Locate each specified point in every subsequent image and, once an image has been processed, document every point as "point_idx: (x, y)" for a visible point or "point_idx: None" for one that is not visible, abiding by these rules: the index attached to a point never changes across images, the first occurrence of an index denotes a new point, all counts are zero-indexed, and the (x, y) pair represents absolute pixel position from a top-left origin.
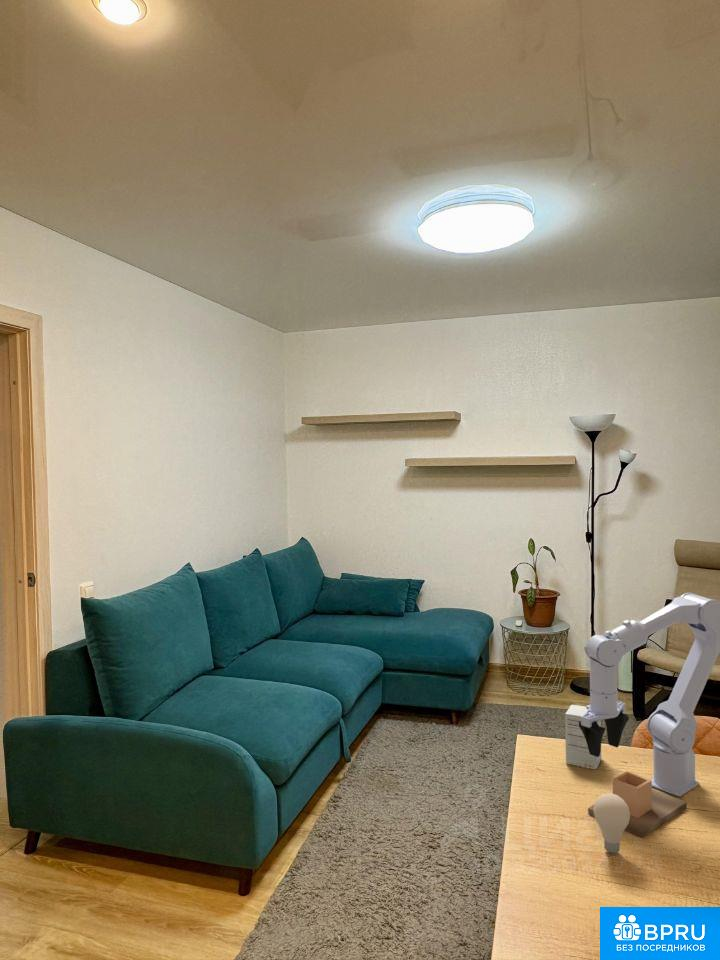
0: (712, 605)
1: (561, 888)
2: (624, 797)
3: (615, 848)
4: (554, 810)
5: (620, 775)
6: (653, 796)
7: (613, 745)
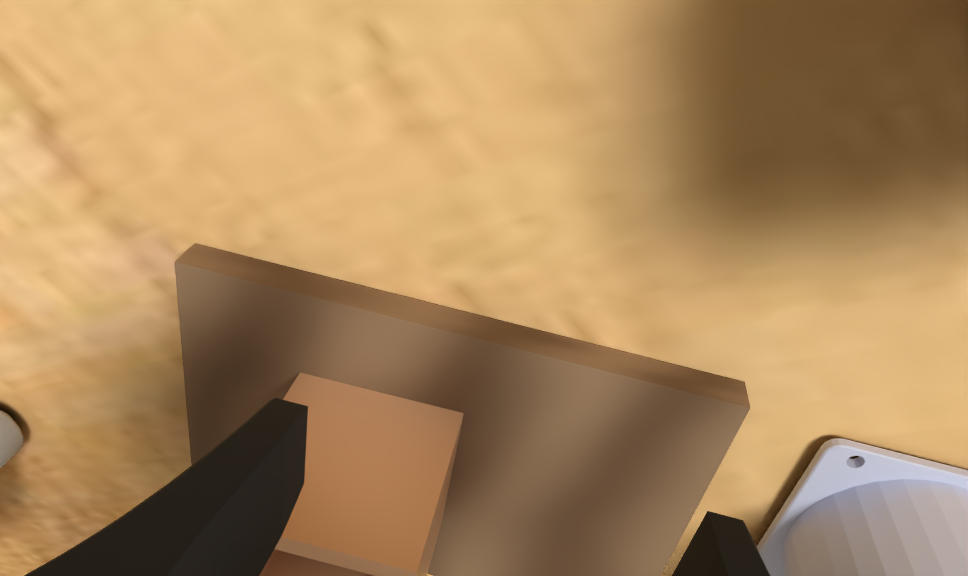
0: None
1: None
2: None
3: None
4: (44, 46)
5: (313, 548)
6: (594, 516)
7: (684, 562)
